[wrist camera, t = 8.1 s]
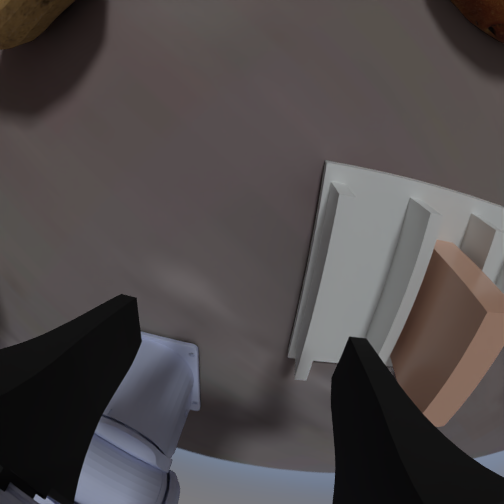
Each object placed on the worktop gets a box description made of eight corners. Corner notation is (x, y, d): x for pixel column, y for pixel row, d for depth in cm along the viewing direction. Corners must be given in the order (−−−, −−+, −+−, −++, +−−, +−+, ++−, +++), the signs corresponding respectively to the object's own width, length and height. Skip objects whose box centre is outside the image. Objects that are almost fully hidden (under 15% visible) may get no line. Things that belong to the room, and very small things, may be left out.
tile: (413, 340, 19) (443, 426, 12) (384, 338, 19) (409, 429, 12) (453, 242, 16) (521, 314, 8) (422, 236, 16) (487, 312, 9)
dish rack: (457, 359, 21) (471, 390, 17) (288, 348, 22) (285, 387, 18) (521, 213, 15) (552, 232, 11) (325, 160, 16) (334, 171, 12)
